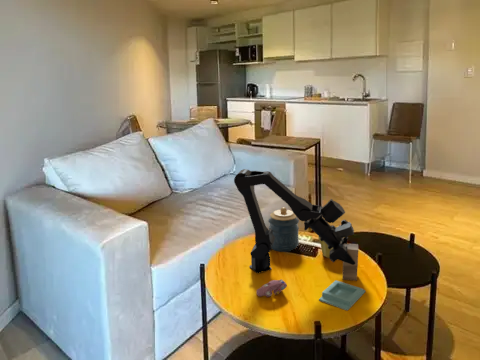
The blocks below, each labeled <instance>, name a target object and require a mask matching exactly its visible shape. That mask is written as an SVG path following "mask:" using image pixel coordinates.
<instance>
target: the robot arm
mask: <svg viewBox="0 0 480 360" xmlns="http://www.w3.org/2000/svg"><path fill="white" fill-rule="evenodd" d="M233 183H234V185H235V187H236V189H237V191H238V192H239V193H240V194H241V196H242V197H243V200H244V202H245V206H246V208H247V209H246V210H247V211H248V215H249V217H250V221H251V223H252V226H253V230H254V242H255V243H254V245H253V248H252V249H251V252H250V257H251V258H250V259H251V263H250V265H249V268H250V269H251V270H252V271H254V273H256V274H261V273H264V272H269V271H272V267H271V256H270V252H271V250H272V249H271V248H272V246H273V244H274V239H275V237H274V235H273V231H272V229H270V230H269V229H268V227H267V226H266V223H265V221H264V217H263V213H262V211H261V208H260V205H259V202H258V201H259V200H258V198H257V196H256V193H255V186H260V185H265V186H266V187H267V188H269V189H270V190H271V191H272V192H273V193H274V194H275V195H276V196H277V197H279V198H280V199H281V200H282V201H284V203H286V205H288V206H289V208H290V209H291V211H293V213H294V214H295V215H296V216H297V217H296V218H298V220H299V221H301V222H303V225H304V226H303V227H304V231H307V230H308V229H309V228H310V229H311V230H312V231H313V232H314V233H315V234H316V236H317V237H318V236H319V237H320V240H321V241H324V242H325V243H326V244H327V245H328V248H329V249H331V248H332V247H333V249H332V250H330V254H329V258H328V259H329V260H330V261H331V262H332V263H335V262H336V261H337V260H338V261H341V262H343V261H344V262H346V263H349V264H352V265H354V264H355V261H354V260H353V259H352V257H351V256H350V255H349V253H348V252H347V246H346V247H345V245H344V243H346V244H349V243H348V237H350V236H351V237H352V236H353V235H355V229H354V227H353V224H352V223H351V222H350V221H348V220H347V219H343V220H341V222H340V224H339V225H338V226H335V225H333V223H335V222H336V221H337V220H338V219H340V218H342V216H343V215H345V214H346V211H345V209H344V208H343V206H342V205H341V204H340V203H339V202H337V201H336V200H334V199H332V198H331V199H329V200H328V202H327V203H326V204H324V205H323V206H322V205H317V204H313V203H312V202H310V201H308V200H307V199H305V198H303V197H300V196H298V195H296V194H295V192H293V191H292V190H291V189H290V188H289V187H287V186H286V185H285V184H284V183H282V181H281V180H279V179H278V178H277V177H276V176H275V175H273V173H272V172H271V171H267V170H265V171H263V170H261V171H260V170H250V169H247V168H243V169H242V170H240V171H239V172H238V173H237V174H236V175H235V176H234V179H233ZM331 223H332V225H331ZM344 237H345V238H344Z"/></svg>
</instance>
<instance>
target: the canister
mask: <svg viewBox="0 0 480 360" xmlns="http://www.w3.org/2000/svg"><path fill="white" fill-rule="evenodd" d="M299 222H300V220H299V219H298V218H297V216H296V215H295V214H294V213H293V211H292V210H290V209H287V207H284V206H282V207H281V208H280V209H276V210H274V211H273V212H271V213H270V217H269V218H268V223H269V225H268V227H267V228H268V230H270V229H272V231H273V235H274V237H275V239H274V244H273V246H272V248H271V250H274V251H276V252H282V253H283V252H284V253H286V252H291V250H293V249H295V248H296V247H297V246H298V247H299V243H300V242H299V230H300V228H299V225H298V224H299ZM298 247H297V248H298ZM295 250H296V249H295ZM293 251H294V250H293Z"/></svg>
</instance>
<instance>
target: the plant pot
mask: <svg viewBox="0 0 480 360" xmlns="http://www.w3.org/2000/svg"><path fill="white" fill-rule="evenodd" d="M317 237H318V241H319V243H320V248H321V254H322V256H323V257H326V258H327V259H329V254H330V250H332V249H333V247H332V248H331V249H329V248H328V245H327V244H326V243H325V242H324V241H321V240H320V237H319V236H318V235H317ZM344 238H345V237H344Z"/></svg>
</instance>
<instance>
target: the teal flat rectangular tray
mask: <svg viewBox="0 0 480 360" xmlns="http://www.w3.org/2000/svg"><path fill="white" fill-rule="evenodd" d="M365 293H366V290H365V289H364V288H362V287H359V286H355V285H352V284H349V283H345V282H344V281H339V280H334V281H333V282H332V283H331V284H330V285H329V286H328V287H327V288H325V289H324V290H323V291H322V292H321V297H320V298H319V299H318V301H319V302H323V303H324V304H328V305H331V306H333V307H337V308H338V309H341V310H344V311H348V310H349V309H351V308H352V307H353V306H354V304H355V303H356V302H357V301H358V300H359V299H360V298H361V297H362V296H363V295H364V294H365Z"/></svg>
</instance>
